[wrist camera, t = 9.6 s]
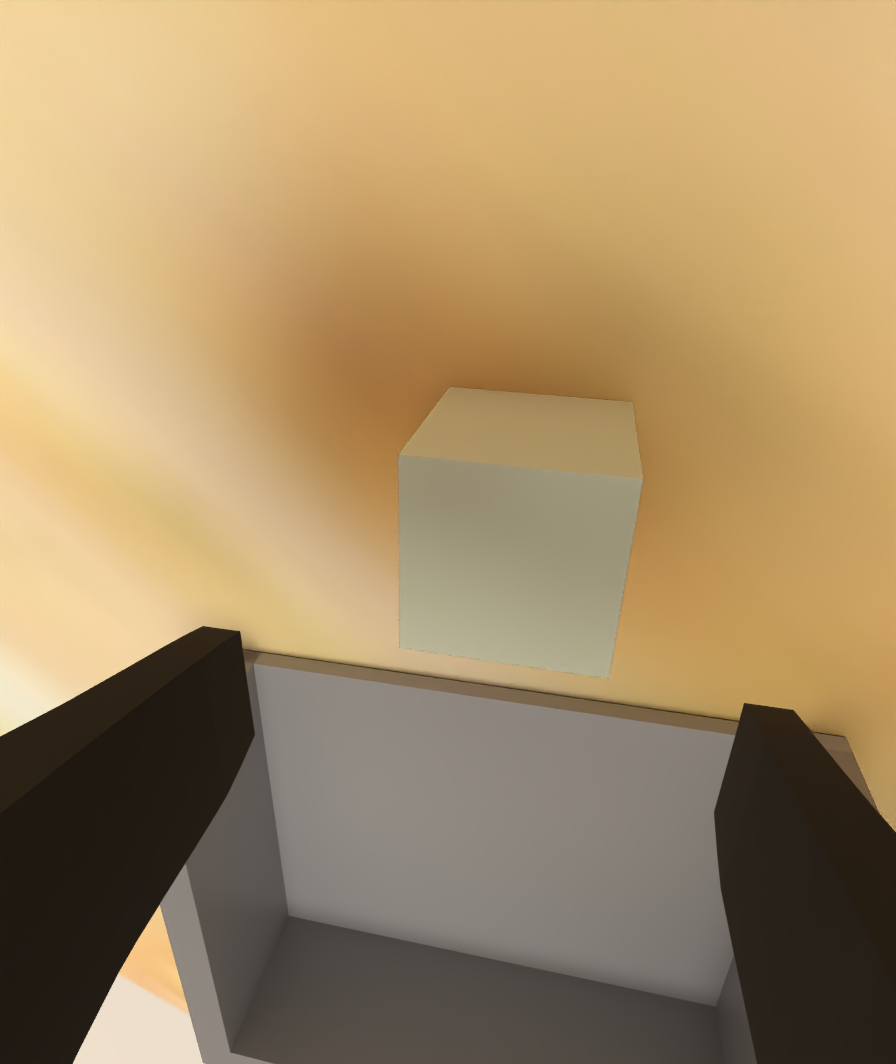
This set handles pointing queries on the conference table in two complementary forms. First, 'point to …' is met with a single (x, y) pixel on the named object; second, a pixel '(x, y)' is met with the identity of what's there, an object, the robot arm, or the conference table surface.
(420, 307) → the conference table surface
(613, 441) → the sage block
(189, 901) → the open box
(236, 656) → the robot arm
